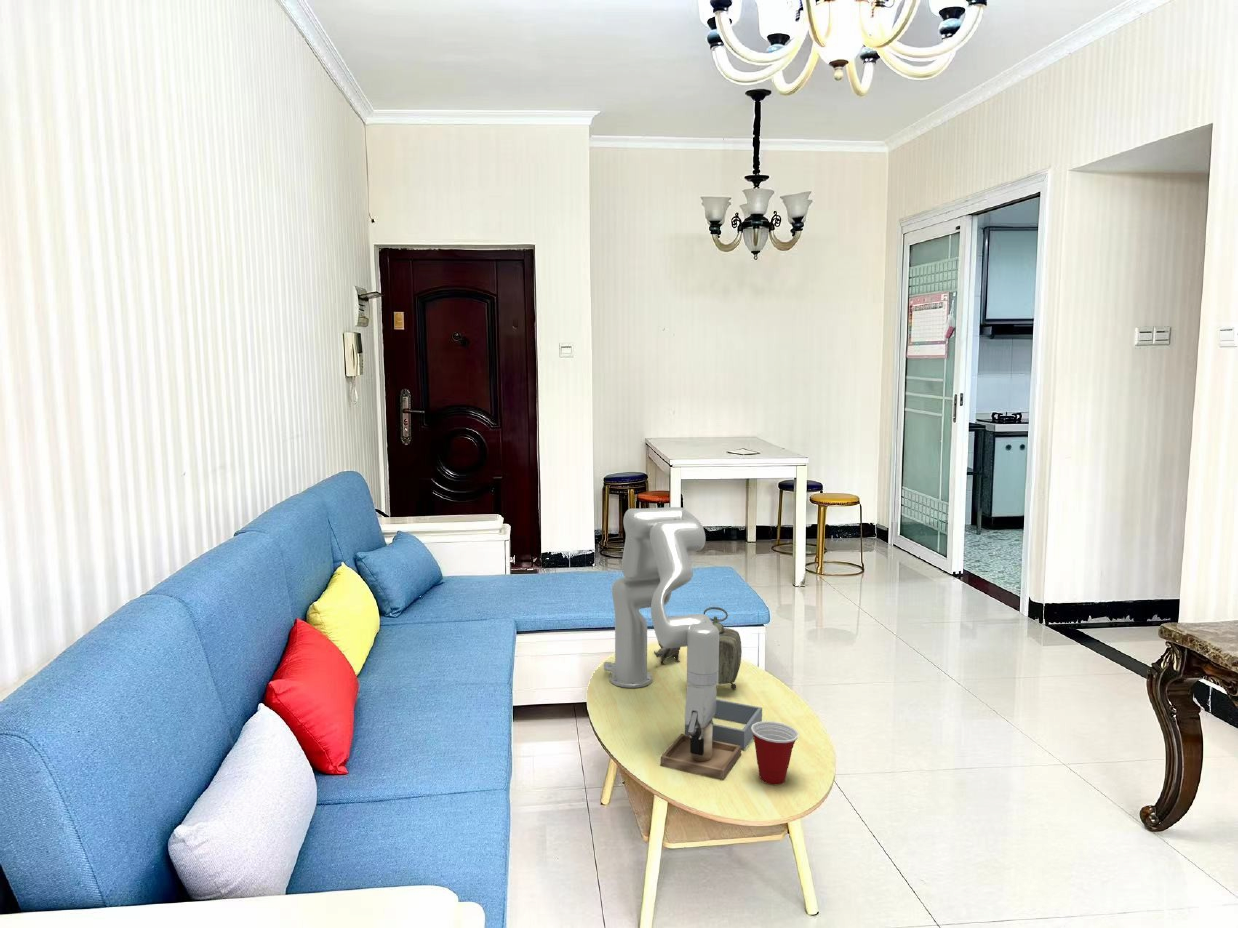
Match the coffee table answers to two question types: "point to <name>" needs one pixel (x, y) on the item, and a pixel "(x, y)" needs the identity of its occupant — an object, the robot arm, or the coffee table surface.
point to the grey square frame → (735, 714)
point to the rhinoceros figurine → (667, 653)
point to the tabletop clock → (727, 651)
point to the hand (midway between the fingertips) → (701, 747)
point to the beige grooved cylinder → (705, 744)
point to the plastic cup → (773, 749)
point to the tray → (714, 768)
